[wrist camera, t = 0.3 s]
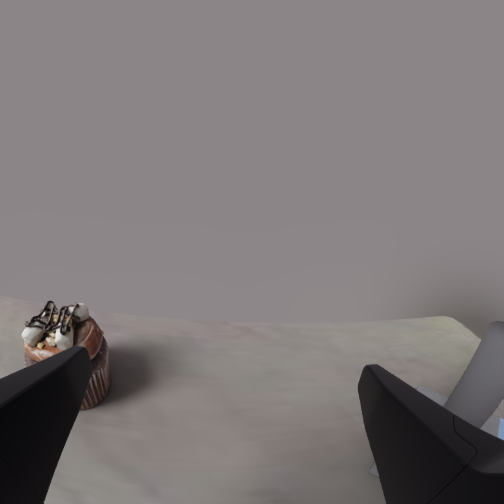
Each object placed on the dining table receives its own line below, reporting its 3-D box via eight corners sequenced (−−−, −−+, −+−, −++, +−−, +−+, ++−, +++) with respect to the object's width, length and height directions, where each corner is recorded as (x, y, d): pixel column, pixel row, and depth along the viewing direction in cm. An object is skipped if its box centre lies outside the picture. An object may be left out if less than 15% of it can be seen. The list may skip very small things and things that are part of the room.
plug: (456, 461, 16) (541, 349, 11) (422, 477, 16) (514, 363, 11) (439, 431, 20) (508, 318, 15) (406, 443, 20) (477, 325, 15)
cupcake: (120, 355, 30) (103, 280, 27) (117, 419, 22) (86, 339, 18) (50, 356, 28) (25, 284, 24) (34, 416, 19) (-10, 338, 15)
